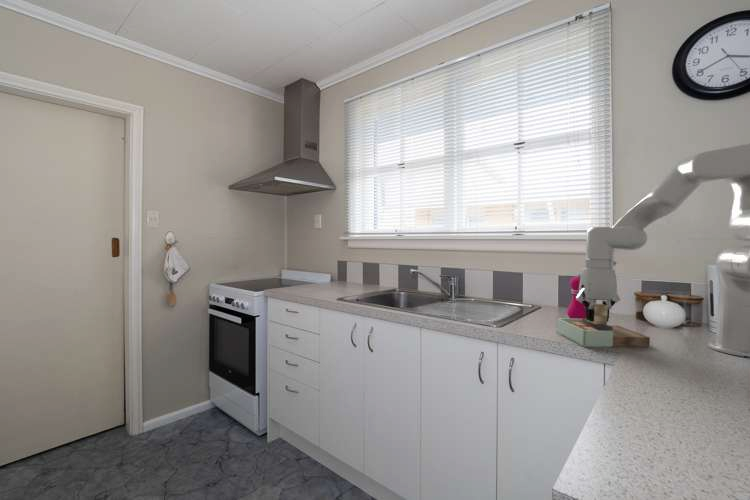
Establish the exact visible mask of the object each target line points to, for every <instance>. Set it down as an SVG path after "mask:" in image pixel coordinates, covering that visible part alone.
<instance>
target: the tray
mask: <svg viewBox="0 0 750 500" xmlns="http://www.w3.org/2000/svg"><path fill="white" fill-rule="evenodd" d="M572 322H580V323H582V319H570V318H558V317H557V318H556V333H557V334H558V335H561V336H562V337H563V338H566V339H567V340H570V341H571V340H572V341H571V342H573V343H575V344H577V345H578V346H581V347H583V348H611V347H613V331H592V330H583V329H581V328H579V327H576V326H574V325H572Z"/></svg>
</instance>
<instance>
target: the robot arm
mask: <svg viewBox="0 0 750 500" xmlns="http://www.w3.org/2000/svg"><path fill="white" fill-rule="evenodd" d="M717 180H723V181H726V183H727V184H728V185H729V186H730V187H731V189H732V195H733V196H732V204H731V208H730V209H731V210H730V216H729V220H728V228H727V229H728V233H729V235H730V236H731V237H732V238H734V239H735V240H738V241H742V242H743V241H744V242H750V143H746V144H741V145H736V146H731V147H724V148H718V149H712V150H709V151H708V150H707V151H704V152H703V151H702V152H699V153H697V154H693V155H692V156H688V157H686V158H684V159H682V160H681V161H679V162H678V163H677V164H676V165H674V167H672V168H671V170H669V172H668V173H666V175H665V176H664V177H663V178H662V179H661V180H660V181H659V183H658V184H657V185H656V186H655V187H654V188H653V189H651V191H650V192H649V193H648V194H647V195H645V197H643V198H642V199H641V200H639V202H638V203H637V204H636V205H634V206H633V207H631V209H629V210H628V211H627V212H625V213H624V215H622V216H621V217H620V218H619V219H618V221H616V223H615V224H614V225H613V226H611V227H610V226H592V227H591V226H590V227H589V228H587V230H586V244H585V245H586V246H585V248H586V249H585V267H583V268H582V269H581V272H580V273H581V277H580V283H579V294H578V295H577V296H576V300H578V301H579V302H581V303H582V304H583V305H584V307H585V308H586V315H585V316H586V320H589V321H594V309H592V308H593V304H594V303H595V301H601V304H604V305H607V306H608V311H607V323H608V322H609V319H610V310H612V307H613V306H614V305H615V304H616V303H618V302H620V300H621V297H620V296H619V294H618V284H617V283H618V282H617V276H616V270H615V269H614V266H616V265H617V262H616V261H614V250H615V249H617V250H624V251H635V250H639V249H641V248H642V247H644V246H645V245H646V243H647V241H648V235H647V233H646V231H645V228H647V227H648V226H649V225H651V224H652V223H654V222H655V221H658V220H659V219H662V218H664V217H666V216H668V215H670V214H672V213H674V211H676V210H678V208H679V207H680V206H681V205H682V204H683V203H684V202H685V201H686V200H687V199H688V198H689V197H690V196H691V195H692V194H693V192H695V190H697V189H698V188H699V187H700V186H701V185H702V184H703V183H706V182H711V181H717ZM715 266H716V273H717V278H718V279H717V282H718V293H717V294H718V295H717V296H718V297H717V313H716V332H715V333H716V334H715V340H714V341H713V340H712V341H708V348H710V349H712V350H714V351H718V352H720V353H724V354H729V355H733V356H738V357H744V356H748V357H747V358H750V245H734V246H729V247H727V248H725V249H723V250H722V251H721V252H720V253H719V254H718V255H717V257H716V261H715ZM583 298H585V300H584V299H583Z"/></svg>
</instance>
